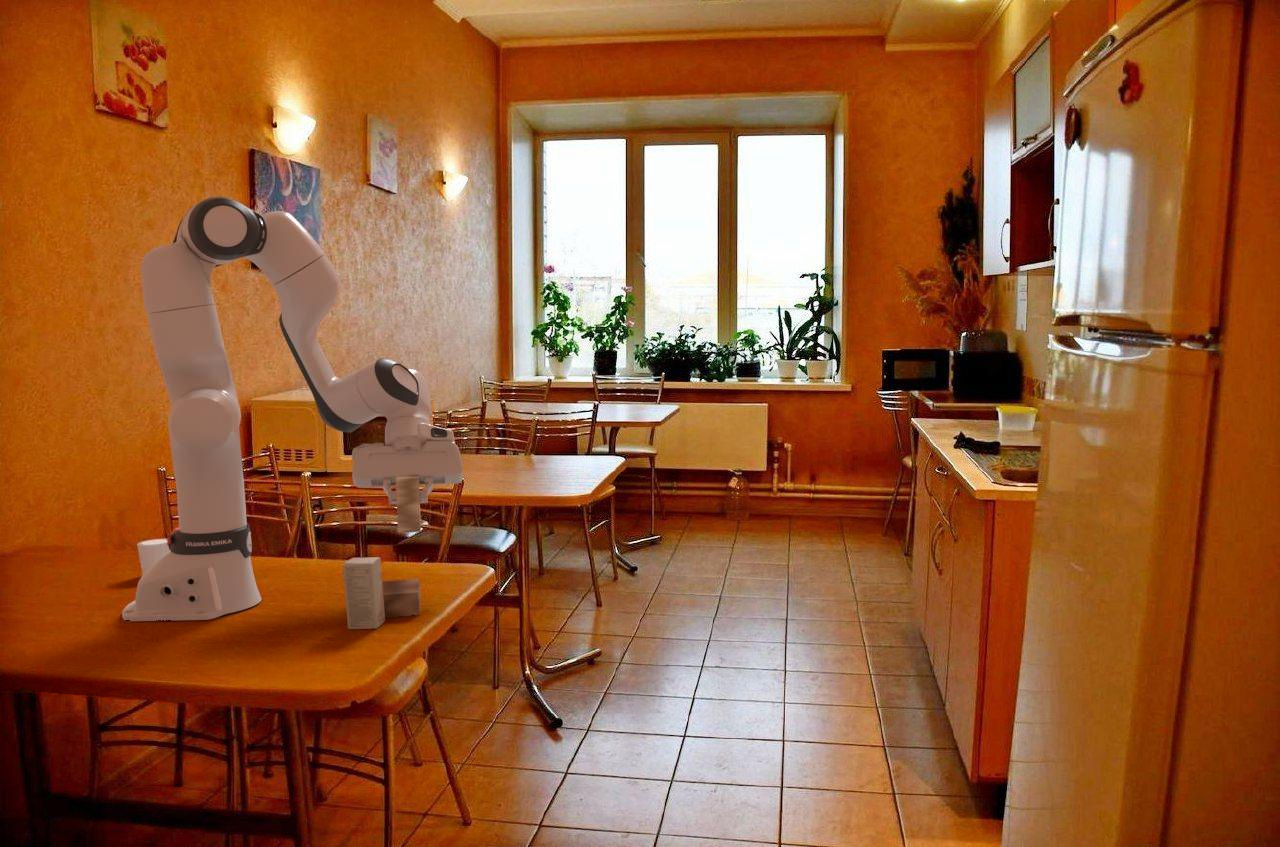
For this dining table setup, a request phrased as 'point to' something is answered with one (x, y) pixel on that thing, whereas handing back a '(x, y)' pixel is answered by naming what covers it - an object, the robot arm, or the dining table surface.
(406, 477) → the oak post
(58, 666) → the dining table surface
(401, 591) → the light tan slab
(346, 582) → the box
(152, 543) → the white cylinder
